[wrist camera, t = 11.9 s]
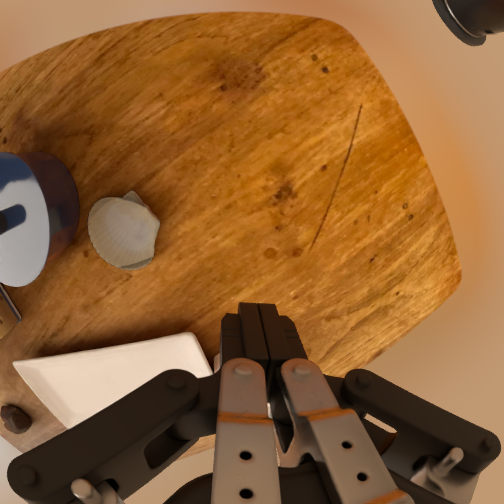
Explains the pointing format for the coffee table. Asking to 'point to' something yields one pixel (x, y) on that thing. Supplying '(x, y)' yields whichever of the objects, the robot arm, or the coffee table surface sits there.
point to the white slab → (107, 373)
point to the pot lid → (22, 222)
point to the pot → (57, 198)
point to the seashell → (123, 231)
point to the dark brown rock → (15, 419)
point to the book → (7, 313)
